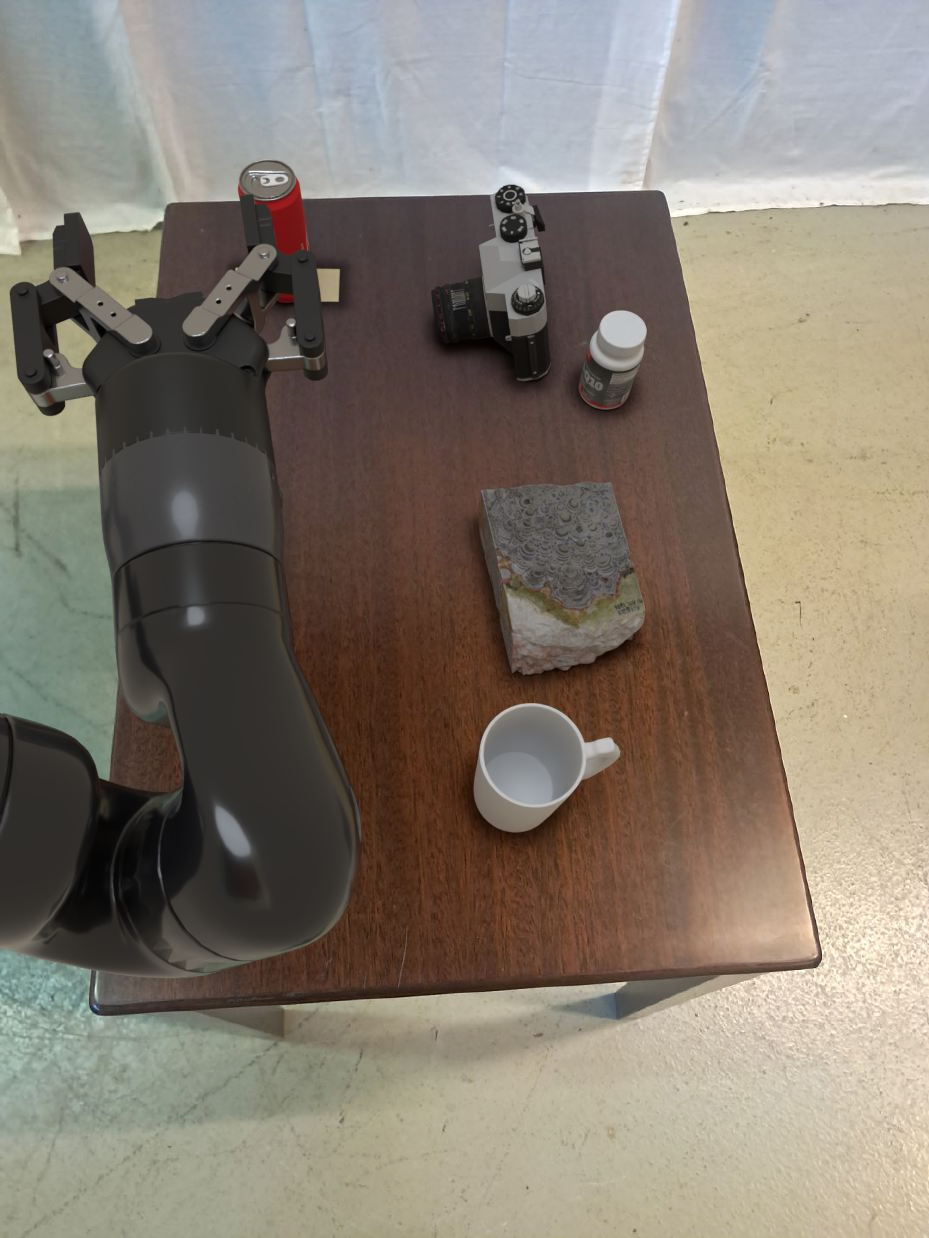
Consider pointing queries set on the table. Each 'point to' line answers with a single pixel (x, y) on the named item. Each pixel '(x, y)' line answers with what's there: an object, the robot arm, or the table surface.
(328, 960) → the table surface
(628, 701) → the table surface
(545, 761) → the mug
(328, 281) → the strip
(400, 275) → the table surface
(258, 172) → the beverage can
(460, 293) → the camera
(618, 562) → the geological specimen
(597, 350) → the pill bottle
